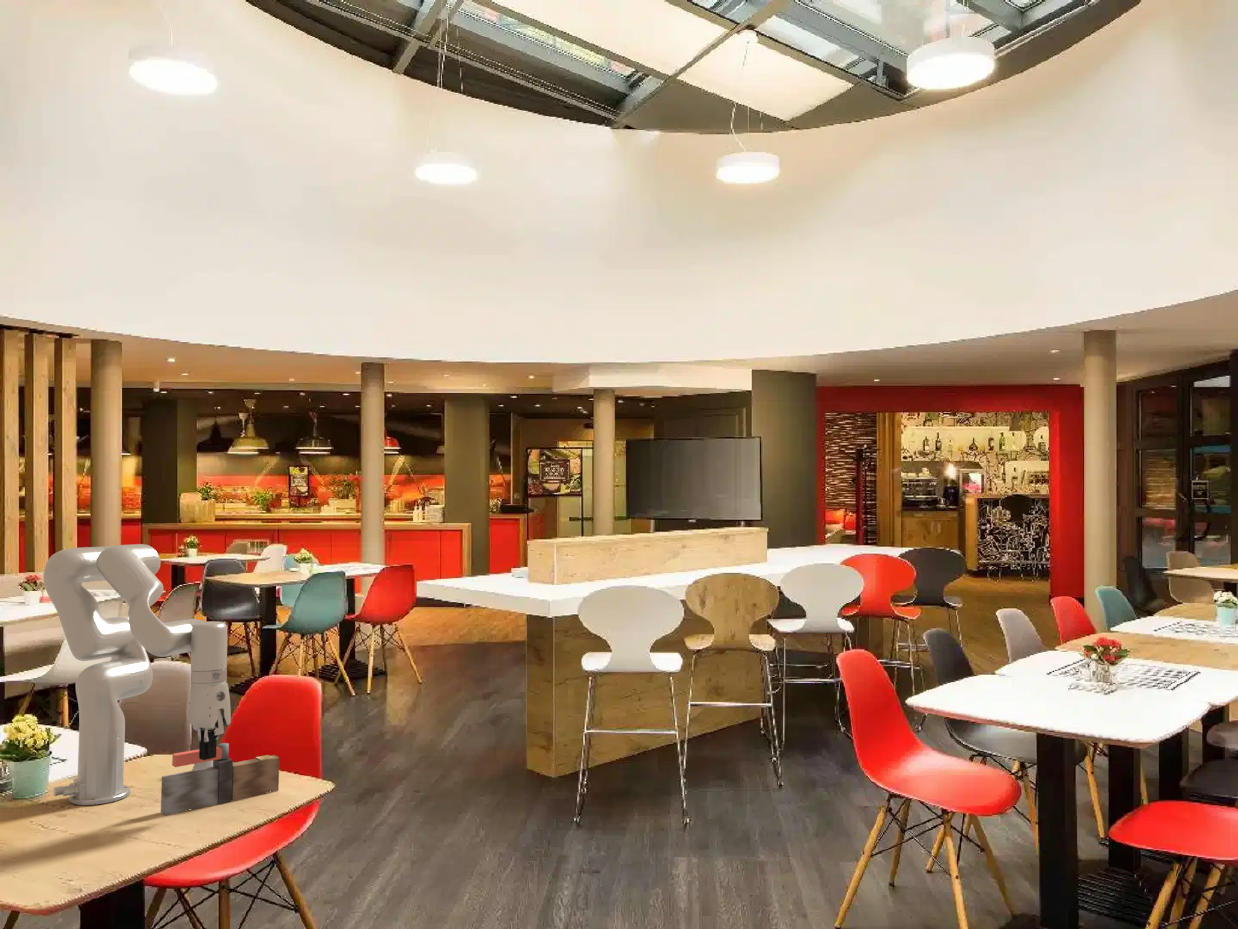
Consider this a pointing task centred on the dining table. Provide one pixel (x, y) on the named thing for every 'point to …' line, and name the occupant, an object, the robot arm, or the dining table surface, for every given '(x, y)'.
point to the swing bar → (193, 756)
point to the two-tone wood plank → (219, 783)
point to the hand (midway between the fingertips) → (207, 758)
